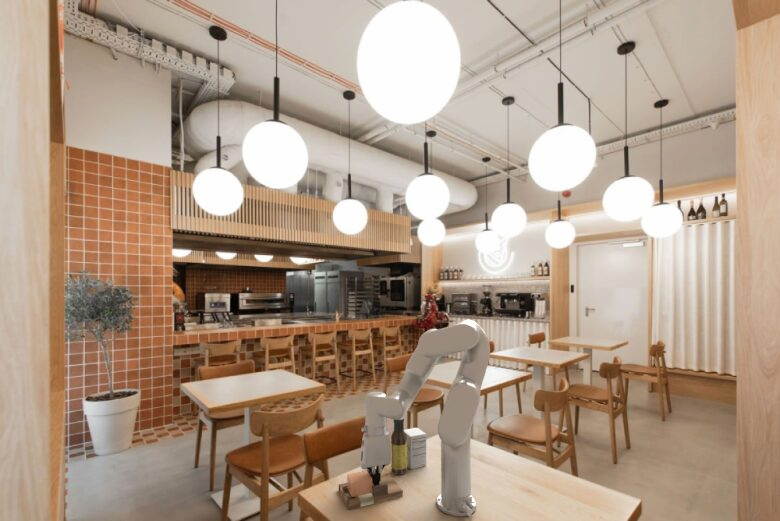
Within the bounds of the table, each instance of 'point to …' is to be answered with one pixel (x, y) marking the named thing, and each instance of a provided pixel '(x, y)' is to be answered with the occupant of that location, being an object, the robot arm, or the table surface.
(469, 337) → the robot arm
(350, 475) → the terracotta block
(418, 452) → the supplement box
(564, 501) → the table surface
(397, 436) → the sauce bottle
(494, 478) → the table surface
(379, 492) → the tunnel board
